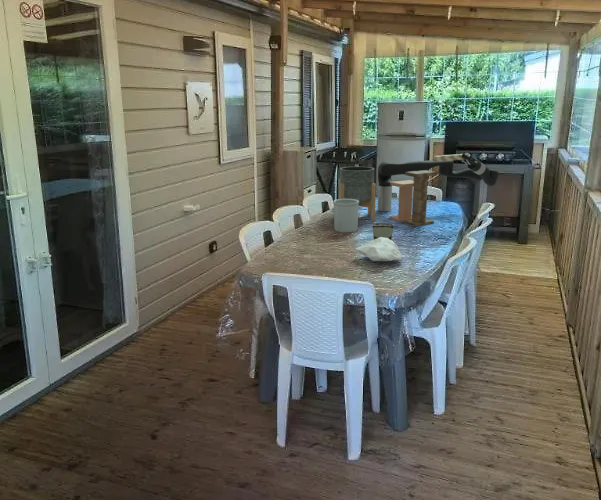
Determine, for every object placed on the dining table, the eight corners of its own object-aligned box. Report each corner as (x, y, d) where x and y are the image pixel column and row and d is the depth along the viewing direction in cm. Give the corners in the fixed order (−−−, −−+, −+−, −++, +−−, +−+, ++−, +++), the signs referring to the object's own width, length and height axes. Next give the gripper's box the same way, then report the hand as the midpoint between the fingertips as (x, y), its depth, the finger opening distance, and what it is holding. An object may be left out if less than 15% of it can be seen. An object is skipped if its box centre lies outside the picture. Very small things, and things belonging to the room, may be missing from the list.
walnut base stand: (423, 220, 351) (426, 170, 343) (433, 223, 343) (436, 172, 334) (403, 223, 344) (405, 172, 336) (413, 226, 336) (416, 173, 327)
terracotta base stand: (408, 216, 364) (410, 180, 358) (420, 219, 354) (422, 182, 348) (388, 218, 357) (390, 181, 351) (400, 222, 347) (401, 184, 340)
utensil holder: (356, 233, 320) (357, 203, 316) (331, 232, 323) (331, 202, 319) (359, 227, 334) (360, 199, 330) (335, 226, 337) (335, 198, 332)
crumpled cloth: (347, 264, 257) (351, 245, 254) (360, 244, 290) (363, 228, 287) (397, 275, 252) (401, 256, 249) (404, 254, 285) (407, 237, 282)
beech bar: (464, 158, 351) (464, 153, 350) (468, 159, 348) (468, 154, 347) (432, 161, 339) (433, 156, 338) (436, 161, 336) (436, 156, 336)
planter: (375, 221, 351) (376, 170, 343) (340, 221, 352) (340, 171, 343) (371, 213, 373) (372, 166, 364) (338, 213, 373) (338, 166, 364)
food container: (393, 240, 304) (393, 222, 302) (394, 243, 298) (394, 225, 296) (370, 239, 306) (371, 222, 303) (371, 242, 300) (371, 224, 297)
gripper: (482, 173, 349) (465, 161, 340) (466, 170, 361) (449, 158, 352) (487, 162, 349) (470, 150, 340) (471, 160, 361) (454, 148, 352)
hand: (460, 154), depth 346 cm, fingers closed on beech bar, 3 cm apart
